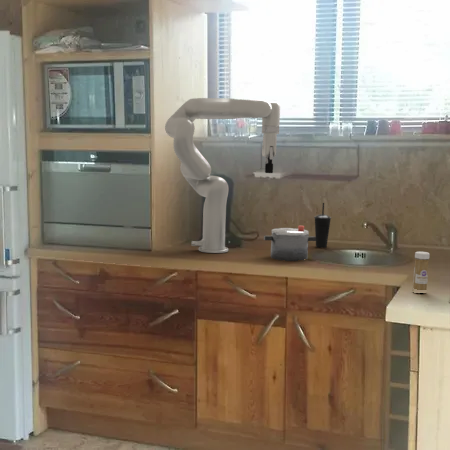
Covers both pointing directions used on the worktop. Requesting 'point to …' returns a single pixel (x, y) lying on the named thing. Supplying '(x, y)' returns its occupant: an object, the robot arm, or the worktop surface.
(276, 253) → the cooker pot
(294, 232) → the lid
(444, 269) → the worktop surface
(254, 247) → the worktop surface
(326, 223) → the drinking cup
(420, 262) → the sprinkles bottle
